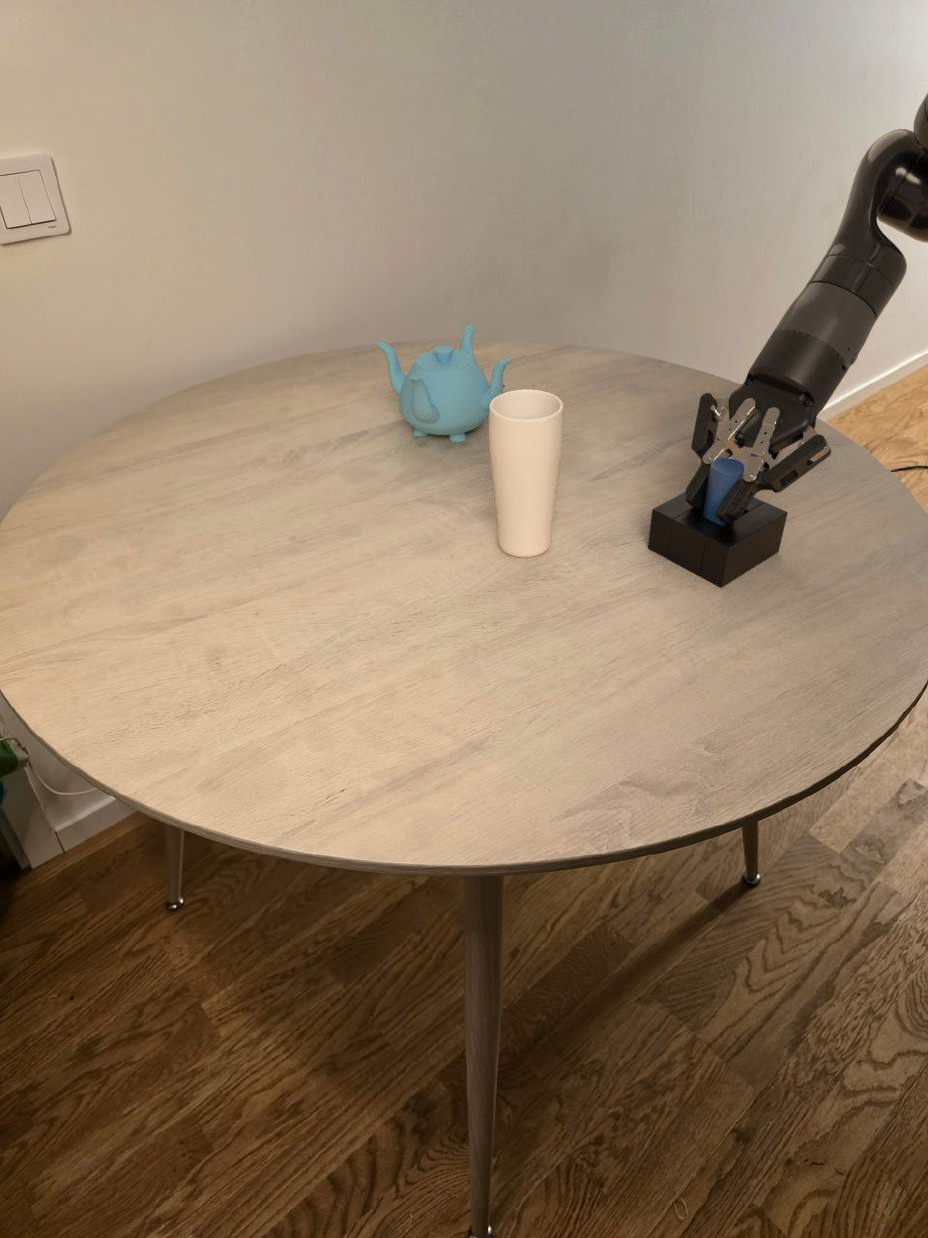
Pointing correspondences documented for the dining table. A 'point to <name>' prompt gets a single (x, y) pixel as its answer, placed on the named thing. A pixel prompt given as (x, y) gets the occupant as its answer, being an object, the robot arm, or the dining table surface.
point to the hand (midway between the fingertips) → (707, 511)
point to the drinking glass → (525, 467)
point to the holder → (716, 538)
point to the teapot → (444, 389)
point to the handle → (720, 485)
